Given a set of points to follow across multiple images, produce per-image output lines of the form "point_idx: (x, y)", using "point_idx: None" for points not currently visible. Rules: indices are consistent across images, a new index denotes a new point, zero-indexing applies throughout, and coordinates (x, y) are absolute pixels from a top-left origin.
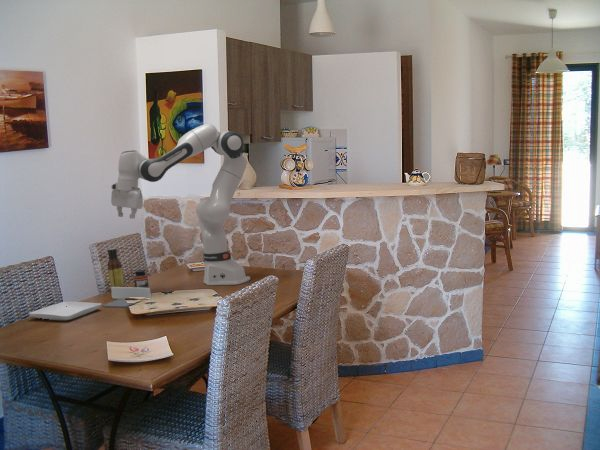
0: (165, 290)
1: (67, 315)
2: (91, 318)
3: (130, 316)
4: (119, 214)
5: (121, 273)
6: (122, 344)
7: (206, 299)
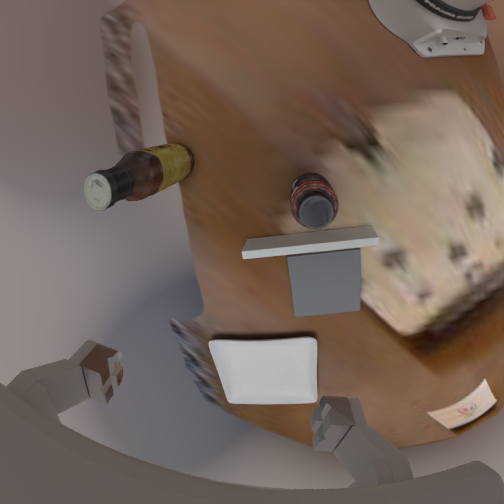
0: (340, 124)
1: (282, 376)
2: (339, 372)
3: (408, 347)
4: (109, 390)
5: (171, 161)
6: (447, 410)
7: (496, 204)
